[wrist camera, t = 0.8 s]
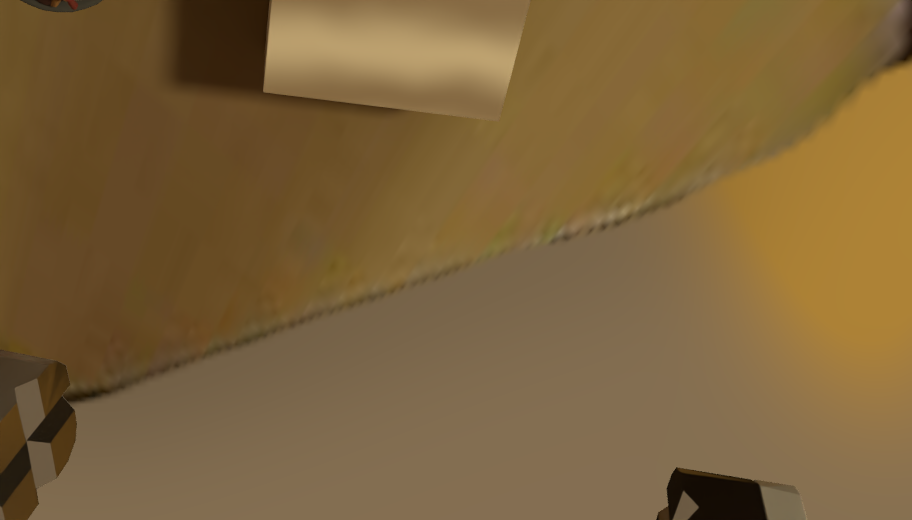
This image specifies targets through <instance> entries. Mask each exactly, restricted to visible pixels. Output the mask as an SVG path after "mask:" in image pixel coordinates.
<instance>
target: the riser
mask: <svg viewBox="0 0 912 520" xmlns="http://www.w3.org/2000/svg"><path fill="white" fill-rule="evenodd" d="M529 4H530V0H270V1H269V12H268V23H267V34H266V45H265V61H264V85H263V92H265V93H273V94H282V95H290V96H298V97H306V98H314V99H322V100H330V101H338V102H346V103H354V104H362V105H370V106H379V107H387V108H395V109H403V110H411V111H419V112H427V113H435V114H443V115H451V116H459V117H467V118H475V119H484V120H492V121H499V119H500V115H501V111H502V108H503V104H504V100H505V96H506V92H507V88H508V85H509V81H510V77H511V73H512V69H513V66H514V62H515V58H516V54H517V50H518V46H519V43H520V39H521V35H522V31H523V27H524V23H525V20H526V16H527V12H528V8H529Z"/></svg>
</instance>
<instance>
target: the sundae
mask: <svg viewBox="0 0 912 520" xmlns="http://www.w3.org/2000/svg"><path fill="white" fill-rule="evenodd" d="M21 1H23V2H25V3H27V4H29V5H31V6H34V7H36V8H39V9H42V10H46V11H53V12H74V11H78V10H82V9H86V8H89V7H91V6H94V5H96V4H98V3H99V2H101V1H102V0H21Z"/></svg>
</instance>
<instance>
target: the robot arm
mask: <svg viewBox="0 0 912 520" xmlns="http://www.w3.org/2000/svg"><path fill="white" fill-rule="evenodd" d="M69 386H70V381H69V376H68V372H67V367H66V365H64V364H62V363H60V362H58V361H55V360H50V359H45V358H40V357H35V356H30V355H24V354H19V353H14V352H9V351H4V350H0V520H28V518H29V517H30V515H31V514H32V512H33V511H34V510H35V508H36V507H37V506H38V504H39V502H38V496H37V488H39V487H41V486H43V485H44V484H46V483H48V482H50V481H52V480H54V479H56V478H57V477H58V476H59V474H60V473H61V471H62V470H63V468H64V467H65V465H66V463H67V462H68V460H69V457H70V454H71V452H72V449H73V446H74V443H75V440H76V428H77V422H76V415H75V410H74V409H73V408H72V406H71V405H70V404H69V403H68V402H67V401H66V400H65V399H64V398H63V396H62V395H63V394H64V392H65V391H66V390H67V388H68V387H69ZM667 498H668V507H666V508H664V509H663V510H661V511H660V512H658V515H657V519H656V520H807V516H806V513H805V510H804V506H803V502H802V499H801V495H800V492H799V491H798V490H797V489H796V487H795V486H791V485H785V484H779V483H772V482H765V481H759V480H754V481H753V480H751V479H745V478H739V477H733V476H727V475H721V474H714V473H708V472H702V471H696V470H690V469H684V468H678V467H676V469H675V470H674V471H673V473H672V475H671V478H670V480H669V483H668V486H667Z"/></svg>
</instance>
